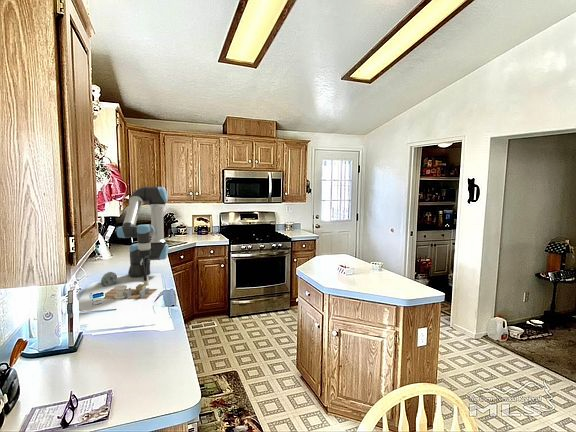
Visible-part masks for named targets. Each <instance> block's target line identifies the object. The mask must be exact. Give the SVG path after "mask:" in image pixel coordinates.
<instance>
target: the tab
mask: <svg viewBox="0 0 576 432" xmlns="http://www.w3.org/2000/svg"><path fill="white" fill-rule="evenodd" d="M146 288H147V286H146V284H144V283H142V284H141V283H140V284H138V285H136V286H135V289H136V293H139V292H140V291H142V290H143V289H146Z"/></svg>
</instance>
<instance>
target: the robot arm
mask: <svg viewBox="0 0 576 432" xmlns="http://www.w3.org/2000/svg"><path fill="white" fill-rule="evenodd" d="M128 203H129V204H128V207H127V211H126V213H125V217H124V220H123V223H122V226H117V228H116V236H117V238H119V239H121V238H122V239H129V238H133V239H134V238H135V239H137V243H133V244H131V245H130V246H129V265H130V266H129V269H128V272H127V273H128V274H127V275H128V277H129V276H130V278H142V277H143V284H146V287H147V286H149V283H150V281H149V276H150V275H151V261H162V260H163V261H164V260H166V259H167V258H168V255H169V248H170V247H169V244H168V243H167V241H166V240H165V232H164V231H165V230H164V228H165V227H164V223H165V222H164V221H165V220H164V207H165V206H166V203H168V192H167V190H166V188H165V187H164V186H142V187H138V188H137V189H136V190H134V191H133V192H132V193H131V195H130V196H129V198H128ZM144 203H146V204H148V206H149V207H150V222H151V223H150V224H138V225H137V221H138V217H139V213H140V210H141V207H142V206H143V204H144Z"/></svg>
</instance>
